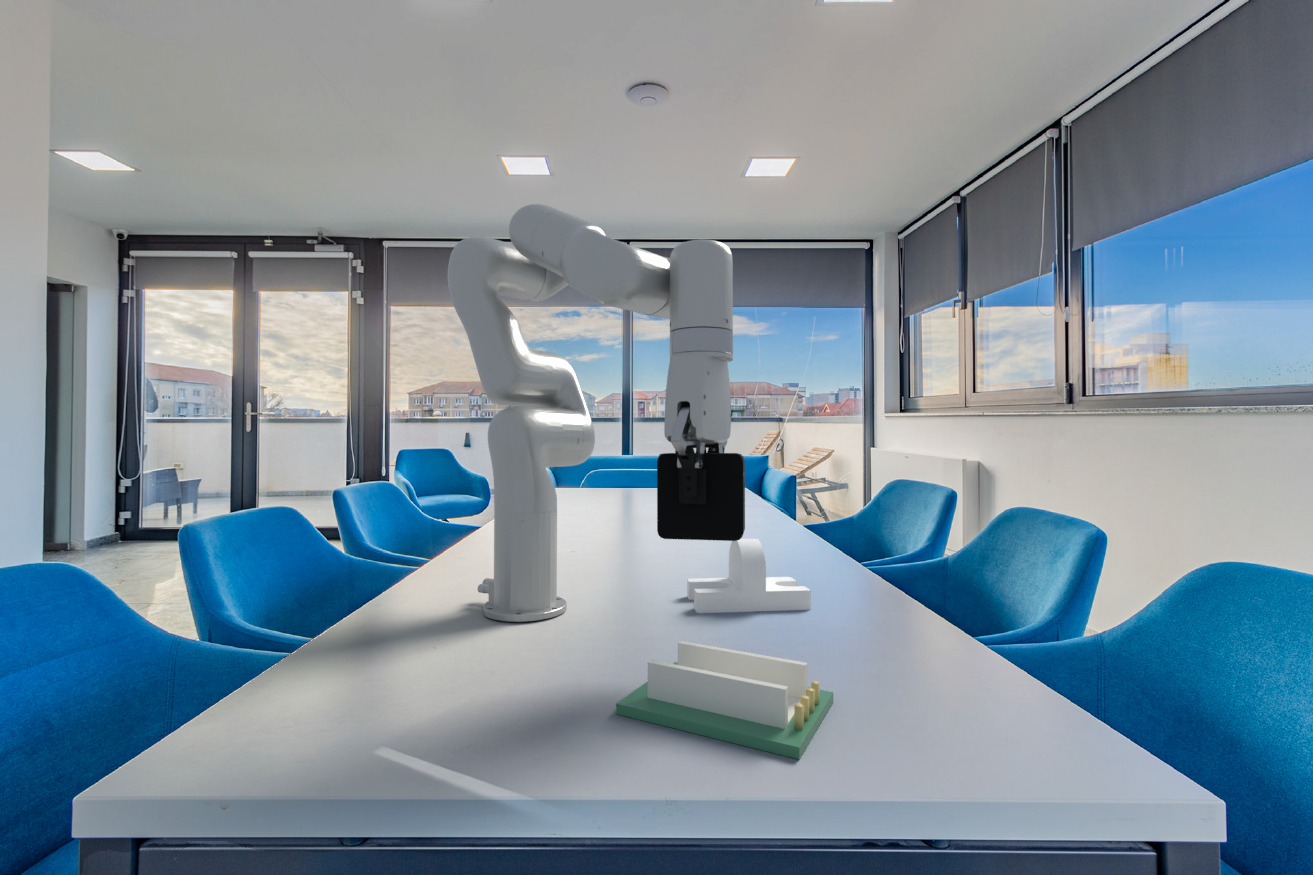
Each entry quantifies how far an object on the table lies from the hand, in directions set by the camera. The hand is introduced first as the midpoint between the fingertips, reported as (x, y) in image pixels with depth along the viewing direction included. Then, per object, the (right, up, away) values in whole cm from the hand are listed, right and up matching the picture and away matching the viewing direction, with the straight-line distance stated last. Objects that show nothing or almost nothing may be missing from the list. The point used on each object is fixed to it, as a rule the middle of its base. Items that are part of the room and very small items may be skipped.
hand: (701, 500), depth 74 cm
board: (+2, -19, -12) cm, 23 cm away
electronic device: (0, -5, 0) cm, 5 cm away
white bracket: (+9, -20, +27) cm, 35 cm away
